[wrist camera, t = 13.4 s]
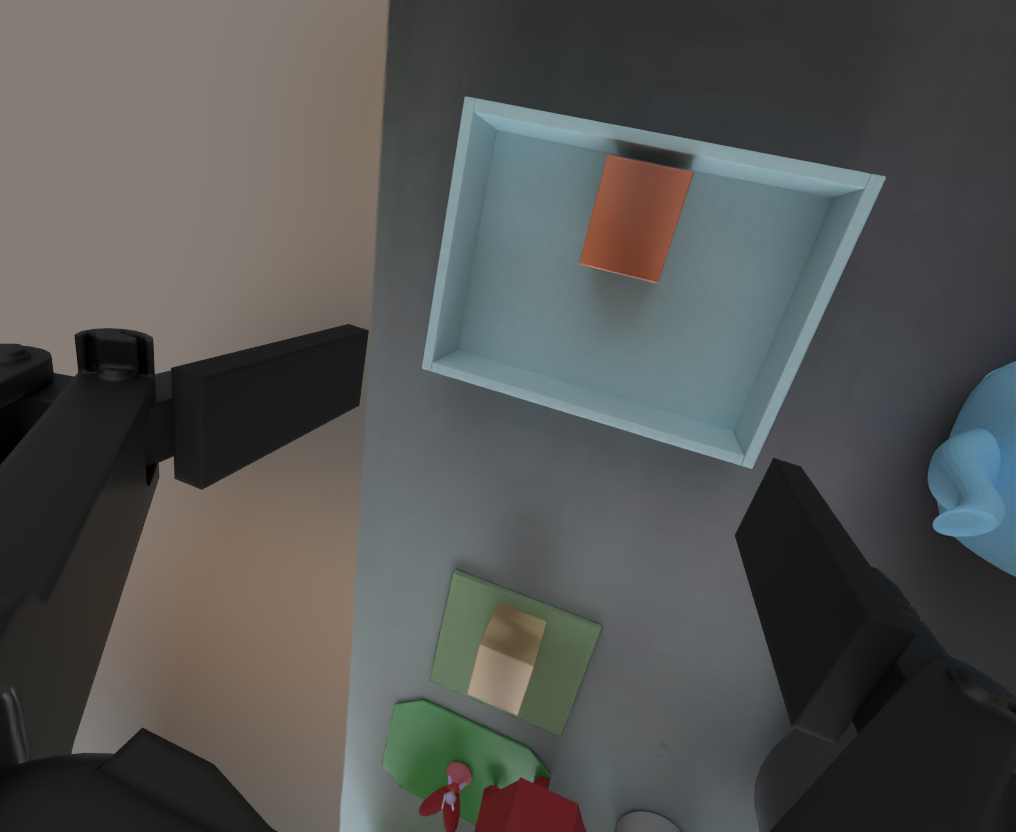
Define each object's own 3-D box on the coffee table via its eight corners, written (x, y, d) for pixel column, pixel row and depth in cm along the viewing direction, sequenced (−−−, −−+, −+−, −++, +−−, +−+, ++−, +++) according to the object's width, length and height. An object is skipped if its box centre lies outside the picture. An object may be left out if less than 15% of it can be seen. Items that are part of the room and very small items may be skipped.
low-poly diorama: (567, 867, 46) (549, 1001, 38) (379, 774, 49) (325, 877, 41) (618, 768, 40) (610, 899, 32) (403, 670, 44) (346, 766, 36)
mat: (431, 676, 43) (429, 680, 43) (455, 568, 39) (453, 572, 38) (561, 731, 41) (560, 737, 40) (602, 625, 37) (601, 629, 36)
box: (449, 354, 33) (421, 368, 29) (491, 118, 28) (464, 95, 24) (738, 439, 30) (752, 469, 26) (847, 189, 25) (887, 176, 20)
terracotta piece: (588, 262, 28) (578, 264, 24) (614, 169, 27) (607, 153, 23) (656, 279, 28) (657, 283, 24) (687, 184, 26) (694, 171, 22)
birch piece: (485, 648, 40) (466, 694, 36) (498, 601, 38) (479, 644, 34) (532, 667, 39) (517, 716, 35) (547, 620, 37) (534, 666, 33)
